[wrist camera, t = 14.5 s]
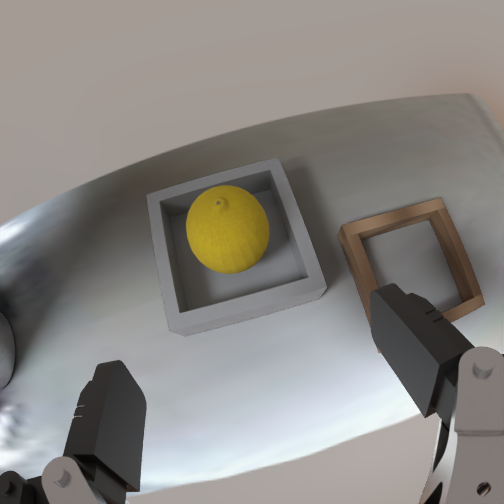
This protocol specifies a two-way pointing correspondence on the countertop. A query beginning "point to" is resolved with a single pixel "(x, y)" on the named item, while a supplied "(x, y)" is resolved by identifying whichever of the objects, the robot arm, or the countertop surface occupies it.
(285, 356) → the countertop surface
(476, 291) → the cradle
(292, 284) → the holder
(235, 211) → the lemon
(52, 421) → the countertop surface
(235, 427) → the countertop surface
